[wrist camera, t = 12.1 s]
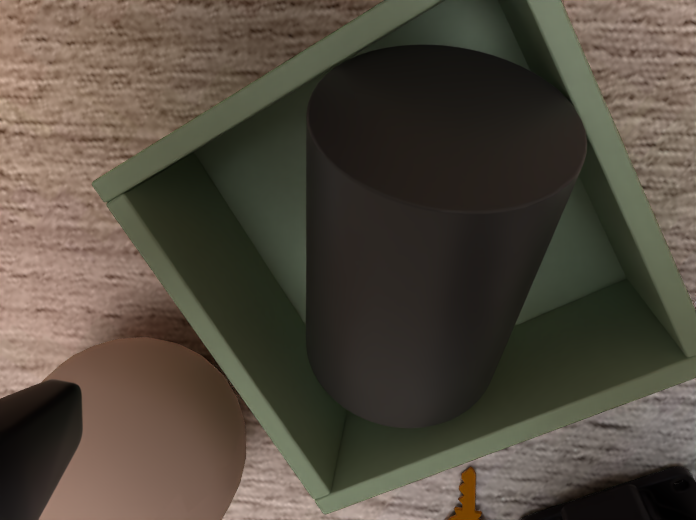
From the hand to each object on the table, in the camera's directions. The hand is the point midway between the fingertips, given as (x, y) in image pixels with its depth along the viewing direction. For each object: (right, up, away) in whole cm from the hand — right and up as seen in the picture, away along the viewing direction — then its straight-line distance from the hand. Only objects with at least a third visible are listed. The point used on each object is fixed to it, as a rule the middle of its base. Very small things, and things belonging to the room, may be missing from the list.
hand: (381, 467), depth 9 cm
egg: (-7, -2, +15) cm, 17 cm away
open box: (+1, +5, +11) cm, 12 cm away
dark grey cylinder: (+1, 0, +10) cm, 10 cm away
